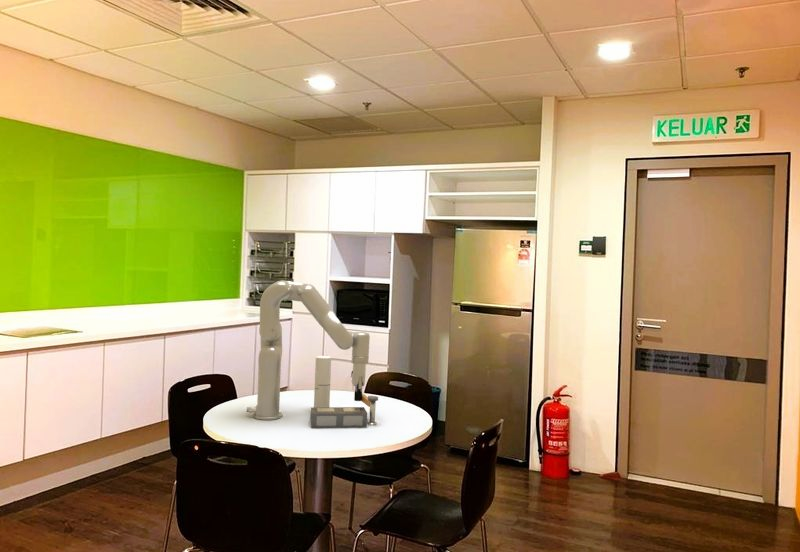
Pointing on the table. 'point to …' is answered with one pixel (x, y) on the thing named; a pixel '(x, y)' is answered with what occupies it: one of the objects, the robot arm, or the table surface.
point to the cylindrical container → (322, 381)
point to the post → (372, 413)
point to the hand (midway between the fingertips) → (357, 400)
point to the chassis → (338, 417)
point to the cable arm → (368, 399)
